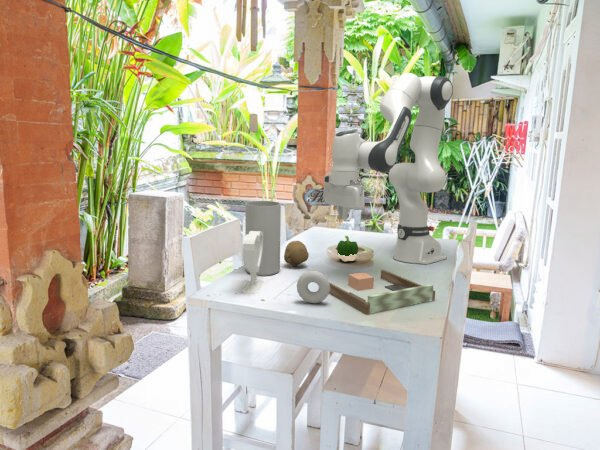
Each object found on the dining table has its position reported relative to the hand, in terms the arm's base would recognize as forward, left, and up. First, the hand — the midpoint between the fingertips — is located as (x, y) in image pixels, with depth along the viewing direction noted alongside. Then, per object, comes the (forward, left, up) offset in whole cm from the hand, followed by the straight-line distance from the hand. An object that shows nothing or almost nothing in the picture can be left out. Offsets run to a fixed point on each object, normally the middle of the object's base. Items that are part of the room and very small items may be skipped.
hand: (342, 219), depth 160 cm
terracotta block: (0, +12, -21) cm, 24 cm away
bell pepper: (-14, -16, -21) cm, 30 cm away
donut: (+22, +18, -21) cm, 35 cm away
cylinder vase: (+22, -18, -21) cm, 35 cm away
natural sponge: (+8, -18, -21) cm, 29 cm away
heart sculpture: (+32, -3, -21) cm, 38 cm away
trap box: (0, +20, -21) cm, 29 cm away
